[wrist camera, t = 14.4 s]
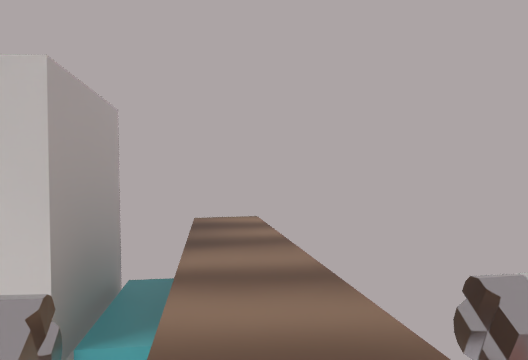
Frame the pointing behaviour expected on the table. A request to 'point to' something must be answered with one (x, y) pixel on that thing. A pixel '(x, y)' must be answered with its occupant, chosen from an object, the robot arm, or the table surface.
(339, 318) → the walnut block
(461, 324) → the robot arm
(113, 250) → the stepped stand
